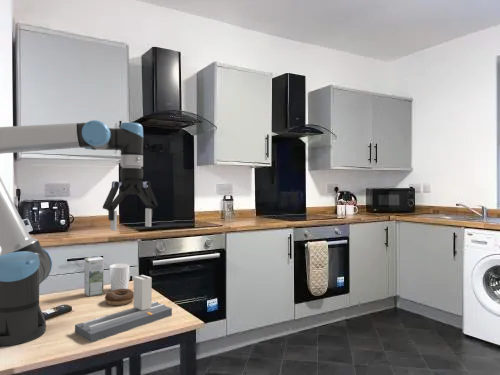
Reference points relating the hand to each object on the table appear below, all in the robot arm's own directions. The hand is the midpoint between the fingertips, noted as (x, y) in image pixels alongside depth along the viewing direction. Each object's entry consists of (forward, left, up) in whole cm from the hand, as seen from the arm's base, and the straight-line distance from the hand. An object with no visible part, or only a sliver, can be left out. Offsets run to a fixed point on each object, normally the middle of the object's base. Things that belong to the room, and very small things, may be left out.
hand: (131, 228), depth 130 cm
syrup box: (-27, 0, -29) cm, 40 cm away
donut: (-11, +2, -29) cm, 31 cm away
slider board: (+10, -8, -29) cm, 31 cm away
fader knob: (+10, -2, -26) cm, 28 cm away
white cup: (-25, +10, -29) cm, 39 cm away
